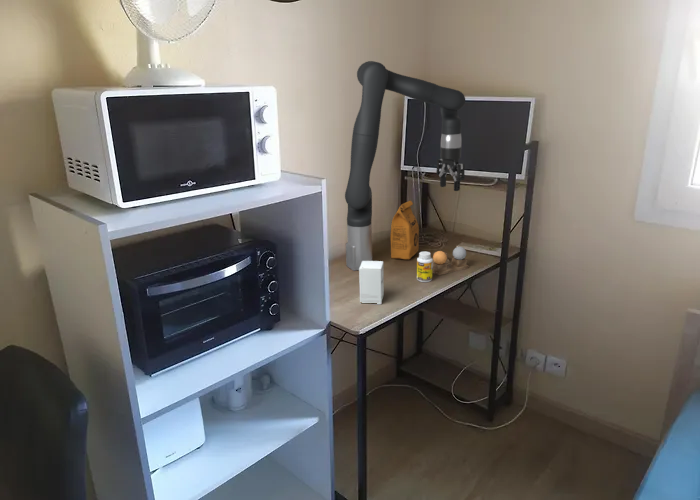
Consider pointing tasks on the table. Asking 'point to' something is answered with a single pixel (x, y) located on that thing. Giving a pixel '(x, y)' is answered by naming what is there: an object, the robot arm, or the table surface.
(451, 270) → the rack
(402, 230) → the coffee package
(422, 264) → the supplement bottle
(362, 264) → the supplement box
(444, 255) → the ball orange
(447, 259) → the stand single
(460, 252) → the ball grey
